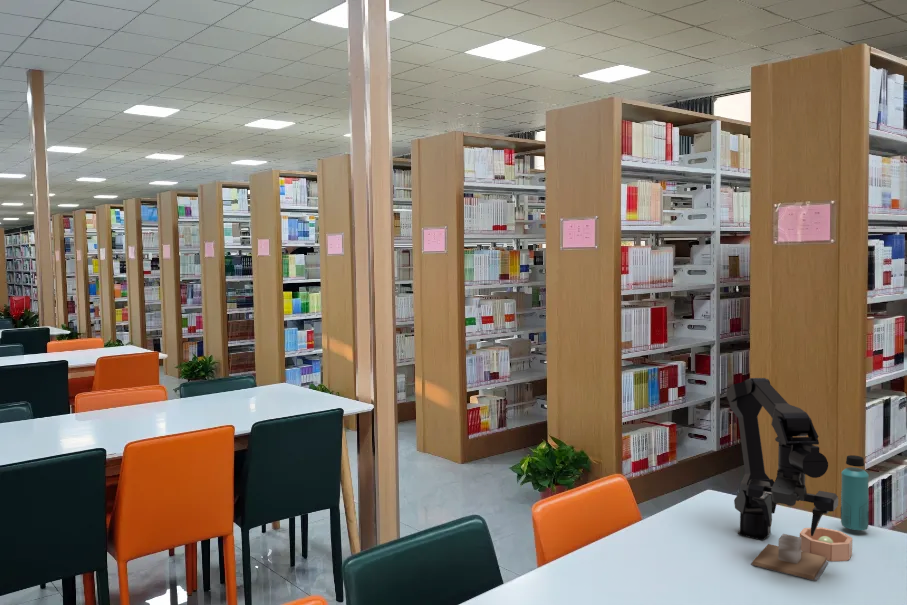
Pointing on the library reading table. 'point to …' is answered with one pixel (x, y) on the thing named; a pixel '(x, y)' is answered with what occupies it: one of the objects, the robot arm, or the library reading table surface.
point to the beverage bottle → (854, 495)
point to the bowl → (827, 544)
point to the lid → (790, 558)
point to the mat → (803, 577)
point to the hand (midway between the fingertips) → (790, 531)
